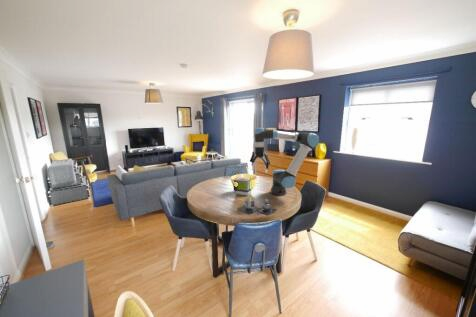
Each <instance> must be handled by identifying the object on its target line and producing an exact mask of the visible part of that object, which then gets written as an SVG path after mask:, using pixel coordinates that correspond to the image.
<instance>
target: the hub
mask: <svg viewBox="0 0 476 317" xmlns="http://www.w3.org/2000/svg"><path fill="white" fill-rule="evenodd" d="M247 197H248V196H247ZM248 200H251V196H249V197H248ZM256 209H257V210H256ZM258 209H260V207H259V206H257V205H255V206H253V207H246V206H245V204H243V205H242V206H239V207H238V208H237V210H239V211H241V212H243V213H245V214H247V215H250V216H251V215H252V214H254V212H255V213H257V212H259V211H258Z"/></svg>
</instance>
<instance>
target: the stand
mask: <svg viewBox="0 0 476 317" xmlns="http://www.w3.org/2000/svg"><path fill="white" fill-rule="evenodd" d="M256 210H257V209H256ZM276 210H277V211H278V209H277V208H273V207H271V203H270V202H269V198H264V202H262V206H261V207H260V209H258V211H257V212H259V213H261V214H263V215H265V216H270V215H271V214H273V213H275V212H277V211H276Z"/></svg>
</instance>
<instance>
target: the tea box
mask: <svg viewBox="0 0 476 317" xmlns="http://www.w3.org/2000/svg"><path fill="white" fill-rule="evenodd" d="M232 180H233V181H234V182H237V183H238V186H237V187H235V186H234V185H233V194H234V195H241V196H247V197H248V196H249V195H250V194H251V193H252V188H251V189H250V181H251V182H252V178H251V177H250V178H249V177H240V176H236V177H235V178H234V179H232Z"/></svg>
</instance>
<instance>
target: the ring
mask: <svg viewBox="0 0 476 317" xmlns="http://www.w3.org/2000/svg"><path fill="white" fill-rule="evenodd" d="M250 197H251V196H250ZM255 201H256V200H255V198H254V197H251V200H248V196H247V197H245V198H244V205H245V206H246V207H253V206H256V205H255Z"/></svg>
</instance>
